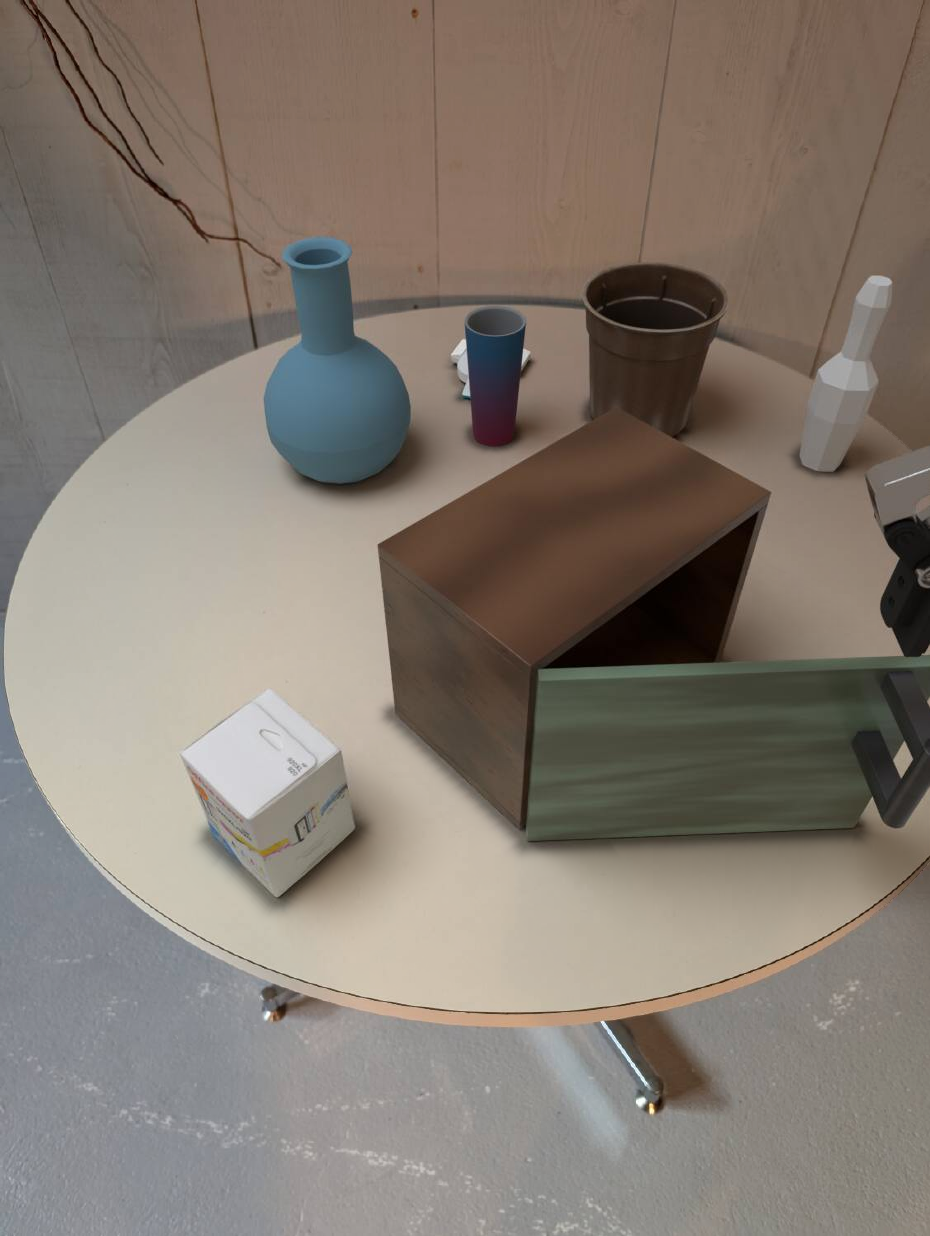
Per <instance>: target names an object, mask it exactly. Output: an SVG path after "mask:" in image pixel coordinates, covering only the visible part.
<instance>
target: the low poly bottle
mask: <svg viewBox="0 0 930 1236" xmlns="http://www.w3.org/2000/svg"><path fill="white" fill-rule="evenodd" d="M892 299H893V281H892V280H891V278H890V277H887V276H883V275H870V276H869V277H868V278H867V280H866V281H865V282H864V284H863V285H862V287H861V289H860V290H859V291H858V293H857V294H856V295H855V299H854V303H853V309H852V313H851V319H850V323H849V326H848V329H847V332H846V336H845V339H844V342H843V345H842V348H841V351H840V352H838V353H837V354H834V356H832V357H831V358H829V359H828V360H827V361H826V362H825V363H824V364H823V365H822V366H820V367H819V368H818V370H817V372H816V376H815V378H814V381H813V385H812V389H811V391H810V395H809V398H808V400H807V401H808V402H807V406H806V413H805V418H804V419H805V420H804V424H803V425H804V426H803V432H802V436H801V437H802V438H801V443H800V450H799V458H800V462H801V464H802V466H804V467H806V468H808V469H811V470H813V471H816V472H821V473H822V472H823V473H825V472H827V473H828V472H829V473H833V472H835V471H836V469H837V468H839V467H840V465H841V464H842V462H843V460H844V459H845V457H846V455H847V452H848V450H849V449H850V447H851V445H852V443H853V442H854V439H855V438H856V436H857V433H858V431H859V430H860V428H861V426H862V424H863V422H864V420H865V418H866V416H867V415H868V412H869V409H870V406H871V403H872V401H873V399H874V395H875V393H876V390H877V387H878V385H879V382H880V380H879V378H878V375H877V373H876V370H875V368H874V366H873V362H872V360H871V358H870V357H871V354H872V352H873V348H874V345H875V343H876V340H877V336H878V334H879V331H880V328H881V326H882V324H883V322H884V320H885V318H886V315H887V313H888V311H889V309H890V307H891V305H892V301H893V300H892Z"/></svg>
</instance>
